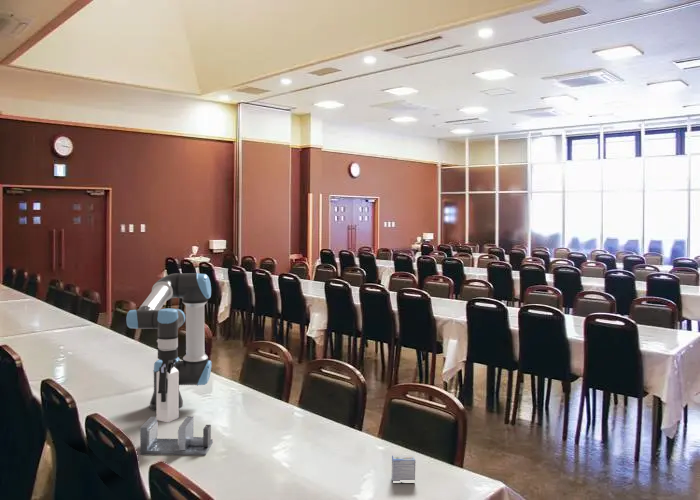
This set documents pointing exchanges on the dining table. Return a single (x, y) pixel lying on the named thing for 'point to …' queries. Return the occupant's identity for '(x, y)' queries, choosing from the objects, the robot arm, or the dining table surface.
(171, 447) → the vise base
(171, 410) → the milk
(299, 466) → the dining table surface
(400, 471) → the medicine box
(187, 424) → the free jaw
